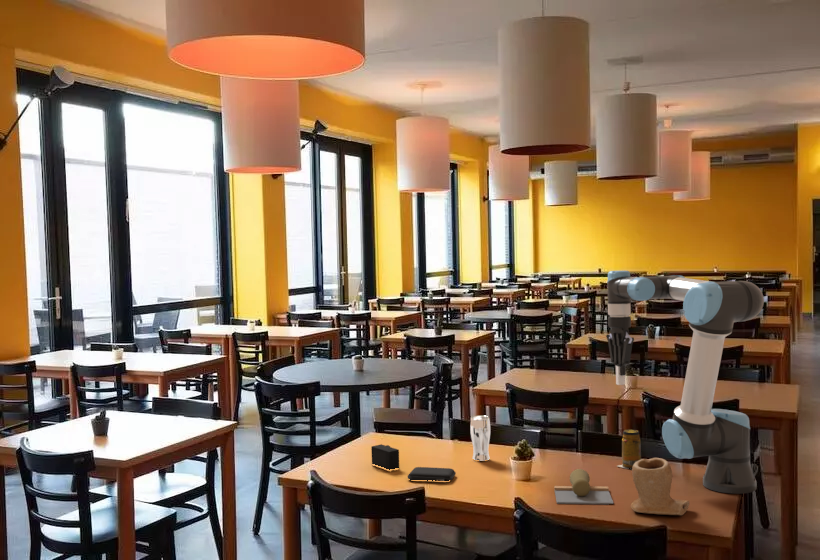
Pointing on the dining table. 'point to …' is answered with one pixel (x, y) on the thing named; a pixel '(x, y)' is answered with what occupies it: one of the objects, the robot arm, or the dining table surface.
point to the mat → (593, 497)
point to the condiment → (630, 448)
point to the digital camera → (385, 456)
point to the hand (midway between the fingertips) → (620, 384)
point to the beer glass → (480, 437)
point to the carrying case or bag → (431, 474)
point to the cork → (580, 482)
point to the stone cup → (655, 488)
